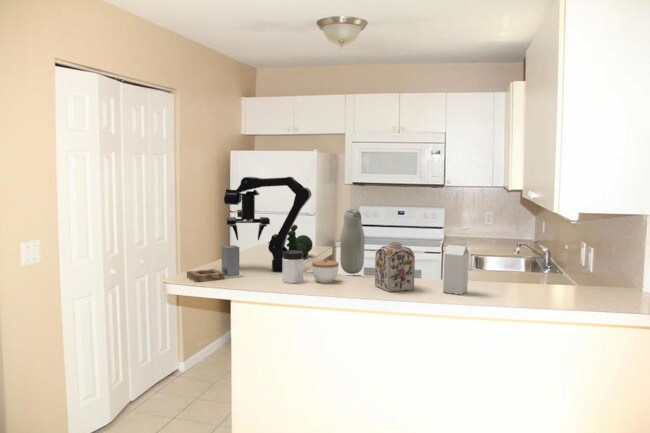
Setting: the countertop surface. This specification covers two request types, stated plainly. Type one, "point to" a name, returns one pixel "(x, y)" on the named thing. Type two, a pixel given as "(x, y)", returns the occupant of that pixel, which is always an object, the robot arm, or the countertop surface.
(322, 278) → the lidded jar
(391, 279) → the decorative jar
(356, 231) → the grey green vase
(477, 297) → the countertop surface
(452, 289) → the milk carton
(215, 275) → the socket block
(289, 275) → the jar
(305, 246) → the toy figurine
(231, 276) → the mat
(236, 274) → the grey rectangular block
